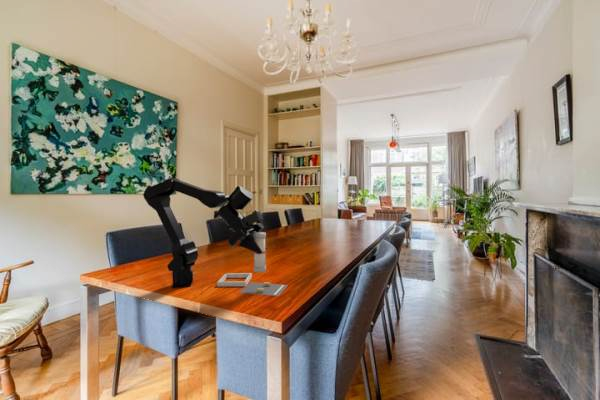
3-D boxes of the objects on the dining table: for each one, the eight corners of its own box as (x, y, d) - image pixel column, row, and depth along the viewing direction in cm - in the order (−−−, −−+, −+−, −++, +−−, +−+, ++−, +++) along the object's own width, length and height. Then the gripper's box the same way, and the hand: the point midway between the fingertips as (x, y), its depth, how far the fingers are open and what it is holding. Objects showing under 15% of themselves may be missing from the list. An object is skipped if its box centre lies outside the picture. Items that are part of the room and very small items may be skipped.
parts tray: (217, 289, 96) (217, 282, 96) (226, 279, 107) (225, 273, 106) (245, 288, 96) (245, 281, 96) (251, 279, 106) (251, 273, 106)
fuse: (254, 272, 92) (254, 234, 91) (253, 269, 96) (252, 232, 95) (267, 271, 93) (266, 233, 92) (264, 268, 97) (264, 231, 96)
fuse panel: (238, 295, 90) (238, 289, 90) (251, 285, 100) (251, 279, 100) (278, 298, 87) (278, 292, 87) (287, 288, 96) (287, 282, 96)
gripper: (236, 204, 85) (269, 240, 83) (258, 201, 103) (286, 231, 101) (214, 228, 87) (246, 264, 85) (239, 222, 106) (267, 251, 103)
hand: (263, 251), depth 94 cm, fingers closed on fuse, 4 cm apart
